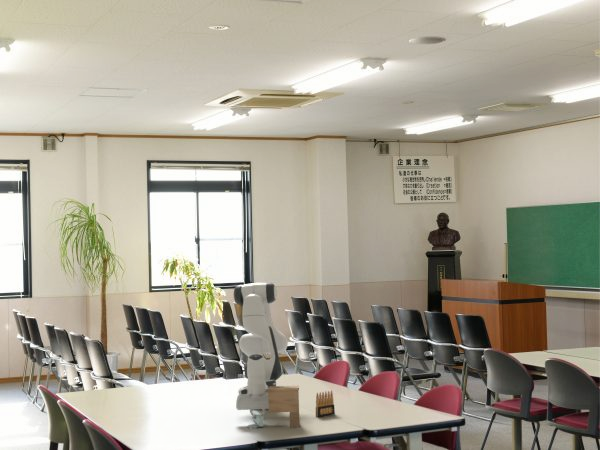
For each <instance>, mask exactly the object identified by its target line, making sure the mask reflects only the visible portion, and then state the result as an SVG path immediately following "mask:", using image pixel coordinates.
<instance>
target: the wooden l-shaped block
mask: <svg viewBox="0 0 600 450" xmlns="http://www.w3.org/2000/svg"><path fill="white" fill-rule="evenodd" d="M299 390H300V385H279V386H278V385H276V386H270V387H268V398H269V409H268V414H271V413H272V414H273V413H289V428H300V427H301V423H300V422H301V420H300V398H299V397H300V395H299V394H300V392H299Z"/></svg>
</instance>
